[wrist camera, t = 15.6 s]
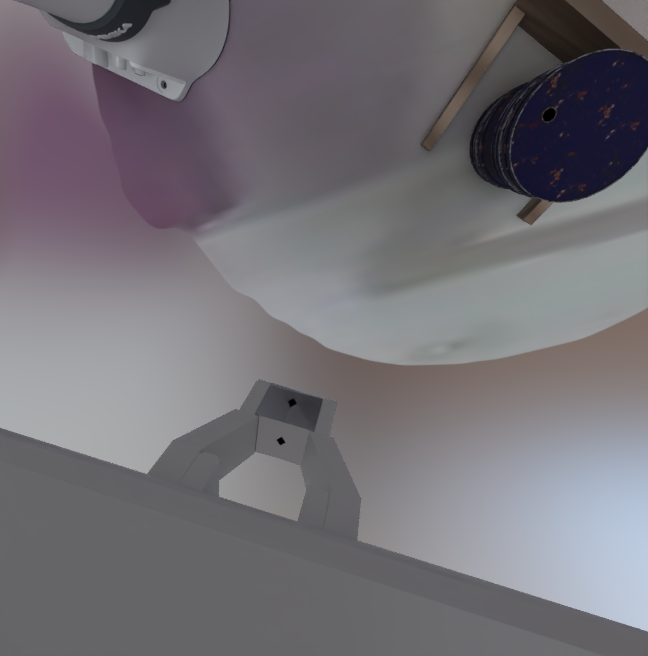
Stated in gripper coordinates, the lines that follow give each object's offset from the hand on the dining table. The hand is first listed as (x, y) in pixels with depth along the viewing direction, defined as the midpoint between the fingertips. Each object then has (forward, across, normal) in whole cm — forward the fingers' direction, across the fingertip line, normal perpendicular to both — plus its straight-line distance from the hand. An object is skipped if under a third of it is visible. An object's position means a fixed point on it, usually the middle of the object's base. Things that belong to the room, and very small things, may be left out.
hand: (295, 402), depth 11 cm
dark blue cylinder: (+37, -14, -12) cm, 42 cm away
